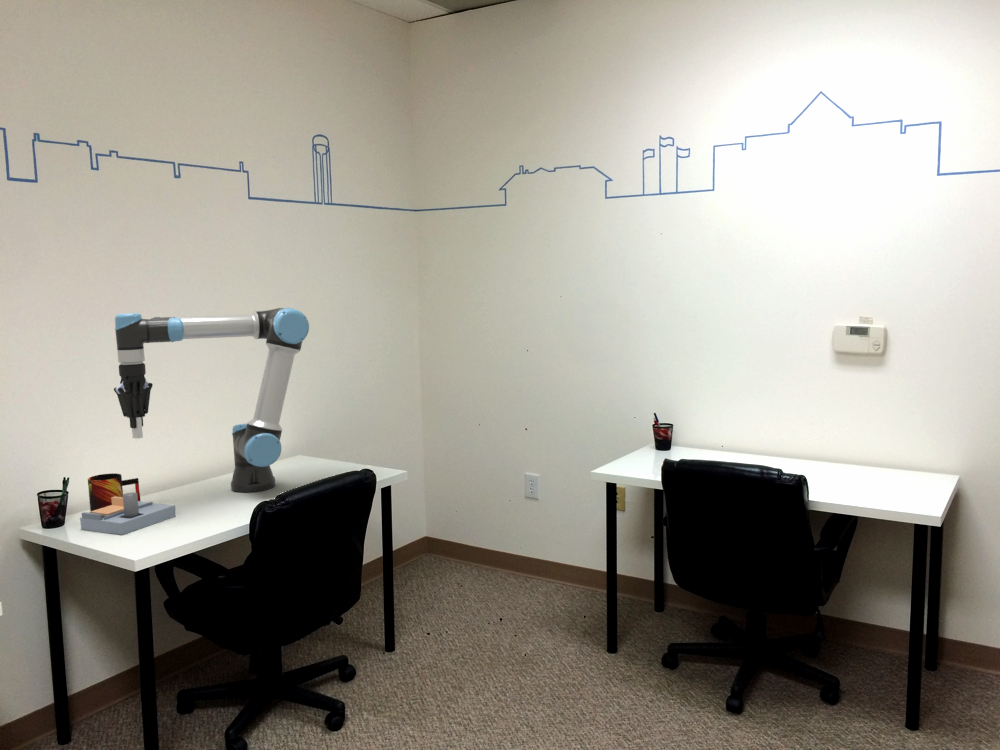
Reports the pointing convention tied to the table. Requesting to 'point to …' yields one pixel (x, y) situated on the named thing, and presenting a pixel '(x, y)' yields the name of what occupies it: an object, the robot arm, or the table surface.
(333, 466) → the table surface
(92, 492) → the mug
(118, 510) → the lid
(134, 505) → the pin
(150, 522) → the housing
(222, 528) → the table surface
